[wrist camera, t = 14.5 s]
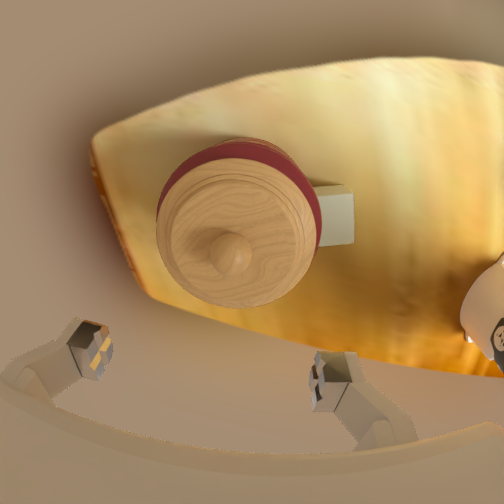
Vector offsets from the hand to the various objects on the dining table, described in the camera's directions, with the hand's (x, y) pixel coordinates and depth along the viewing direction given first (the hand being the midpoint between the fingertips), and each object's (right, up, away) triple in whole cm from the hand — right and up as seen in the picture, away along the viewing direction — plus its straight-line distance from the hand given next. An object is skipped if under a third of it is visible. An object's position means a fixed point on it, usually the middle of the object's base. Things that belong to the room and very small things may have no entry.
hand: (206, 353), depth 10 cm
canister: (+1, +11, +23) cm, 25 cm away
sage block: (+10, +7, +19) cm, 23 cm away
